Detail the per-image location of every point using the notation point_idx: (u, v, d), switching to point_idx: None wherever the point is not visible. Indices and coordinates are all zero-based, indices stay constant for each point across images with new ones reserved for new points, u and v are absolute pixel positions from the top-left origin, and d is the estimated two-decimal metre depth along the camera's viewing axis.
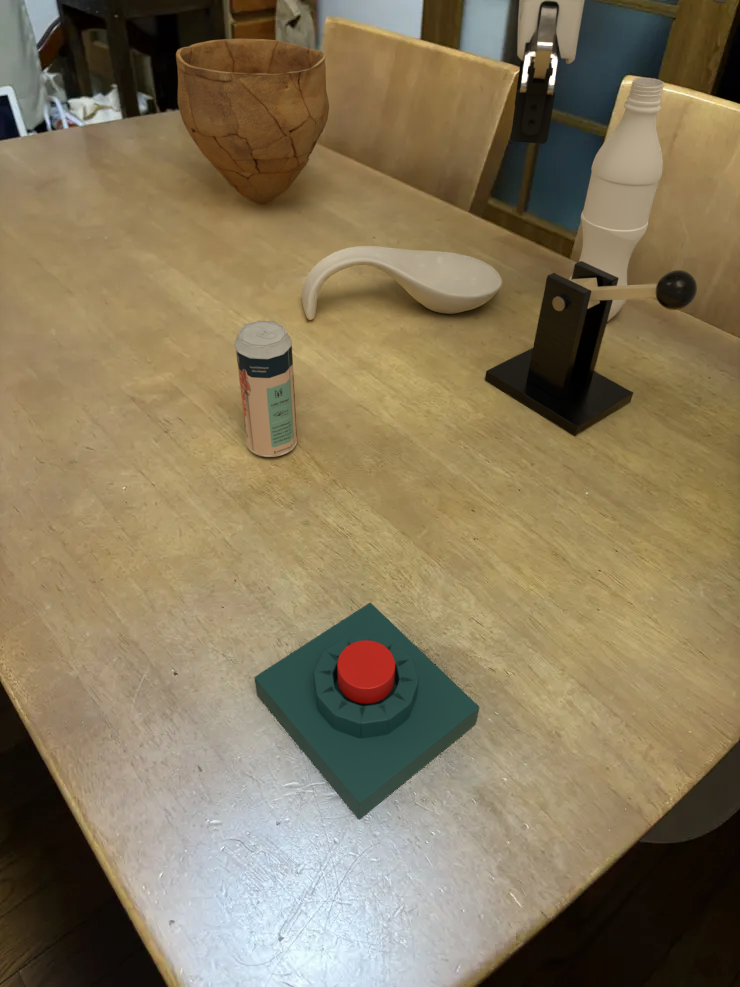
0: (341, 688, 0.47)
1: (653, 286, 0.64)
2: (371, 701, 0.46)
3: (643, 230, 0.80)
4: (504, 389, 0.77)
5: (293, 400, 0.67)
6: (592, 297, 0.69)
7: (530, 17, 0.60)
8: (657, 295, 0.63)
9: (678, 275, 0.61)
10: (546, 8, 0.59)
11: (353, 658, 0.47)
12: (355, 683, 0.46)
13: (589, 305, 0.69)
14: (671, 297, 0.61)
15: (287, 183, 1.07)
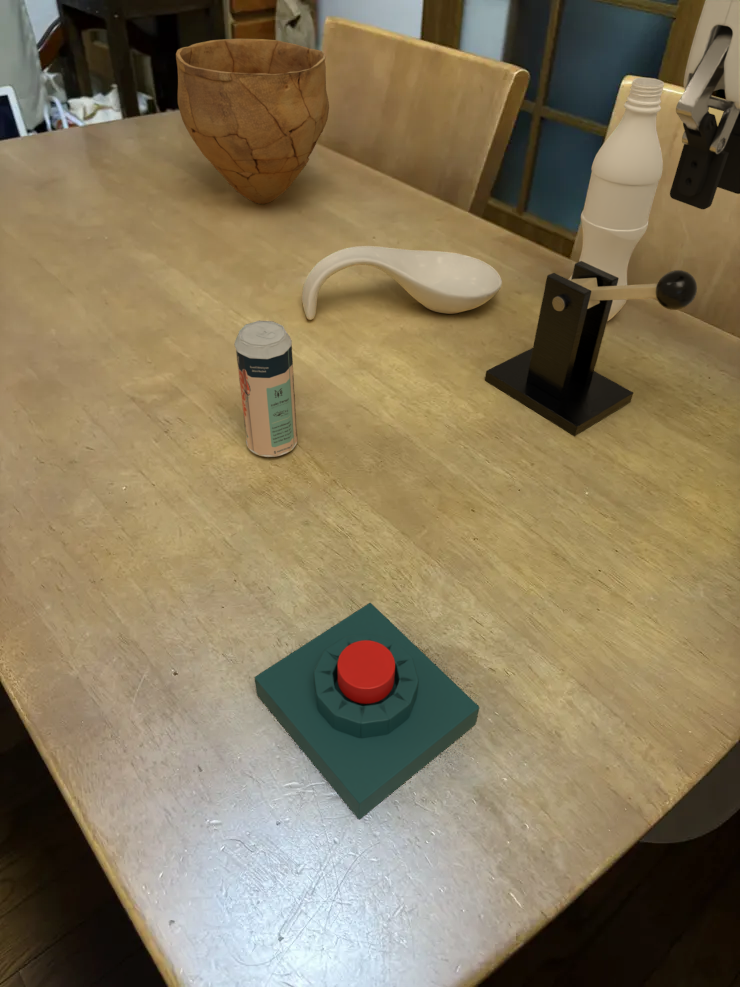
0: (341, 688, 0.47)
1: (653, 286, 0.64)
2: (371, 701, 0.46)
3: (643, 230, 0.80)
4: (504, 389, 0.77)
5: (293, 400, 0.67)
6: (592, 297, 0.69)
7: (699, 42, 0.48)
8: (657, 295, 0.63)
9: (678, 275, 0.61)
10: (714, 48, 0.48)
11: (353, 658, 0.47)
12: (355, 683, 0.46)
13: (589, 305, 0.69)
14: (671, 297, 0.61)
15: (287, 183, 1.07)
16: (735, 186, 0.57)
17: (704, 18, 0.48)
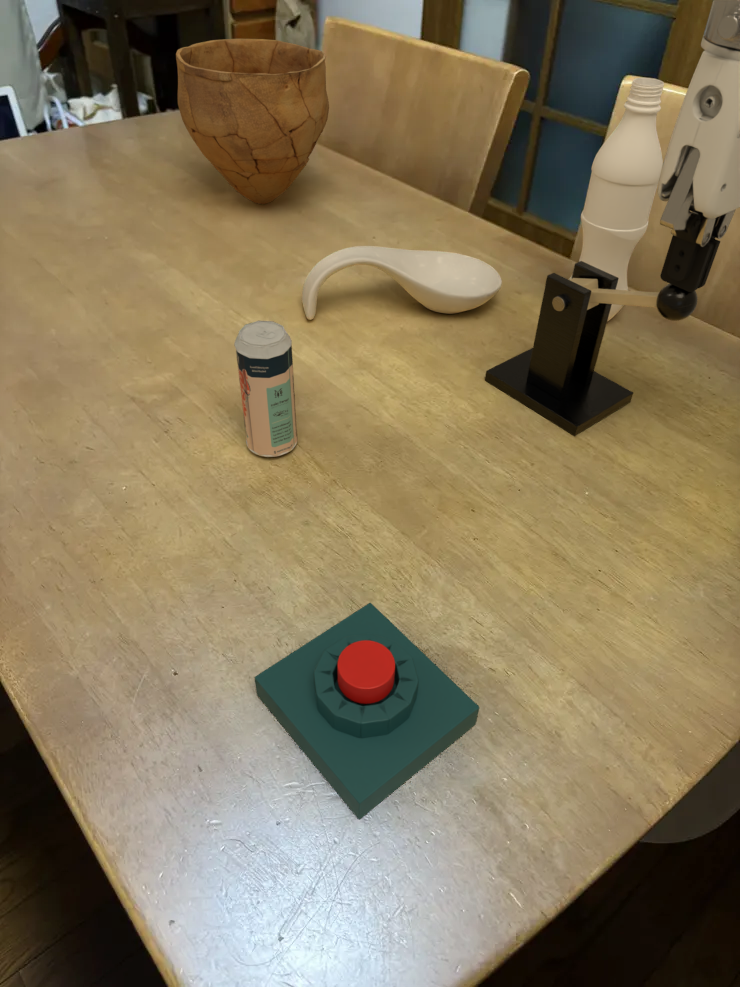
0: (341, 688, 0.47)
1: (654, 295, 0.64)
2: (371, 701, 0.46)
3: (643, 230, 0.80)
4: (504, 389, 0.77)
5: (293, 400, 0.67)
6: (592, 299, 0.69)
7: (670, 158, 0.53)
8: (658, 305, 0.63)
9: None
10: (686, 169, 0.53)
11: (353, 658, 0.47)
12: (355, 683, 0.46)
13: (588, 306, 0.70)
14: (671, 309, 0.62)
15: (287, 183, 1.07)
16: None
17: (675, 138, 0.52)
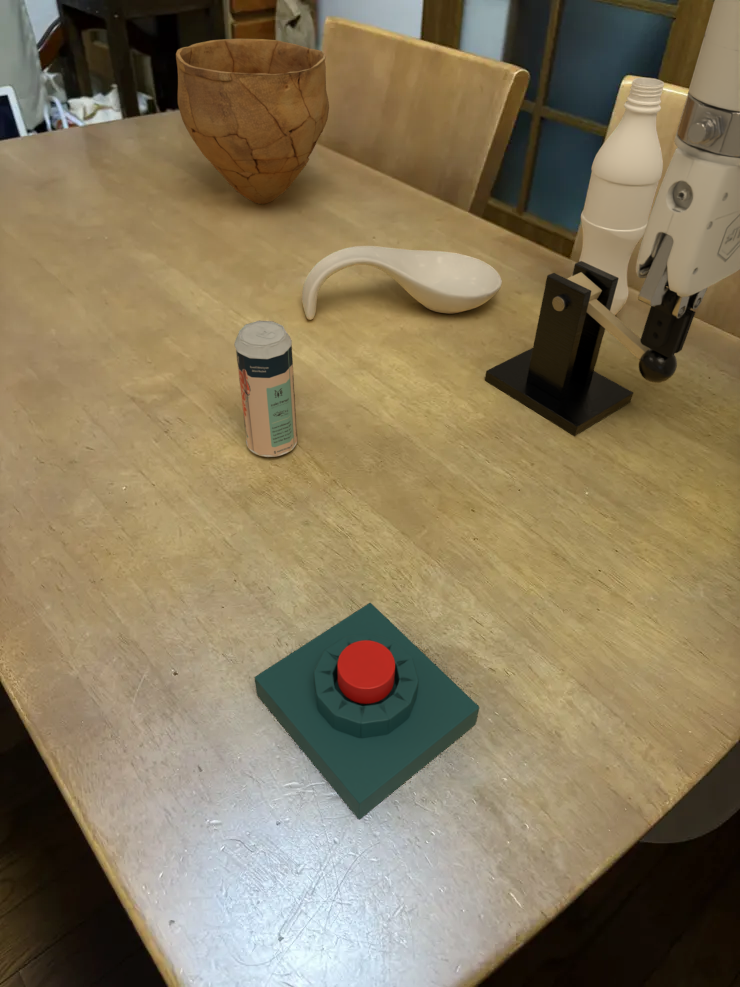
0: (341, 688, 0.47)
1: (643, 348, 0.67)
2: (371, 701, 0.46)
3: (643, 230, 0.80)
4: (504, 389, 0.77)
5: (293, 400, 0.67)
6: (588, 310, 0.70)
7: (647, 242, 0.57)
8: (641, 363, 0.67)
9: (667, 361, 0.65)
10: (661, 252, 0.57)
11: (353, 658, 0.47)
12: (355, 683, 0.46)
13: None
14: (651, 375, 0.66)
15: (287, 183, 1.07)
16: None
17: (651, 224, 0.56)
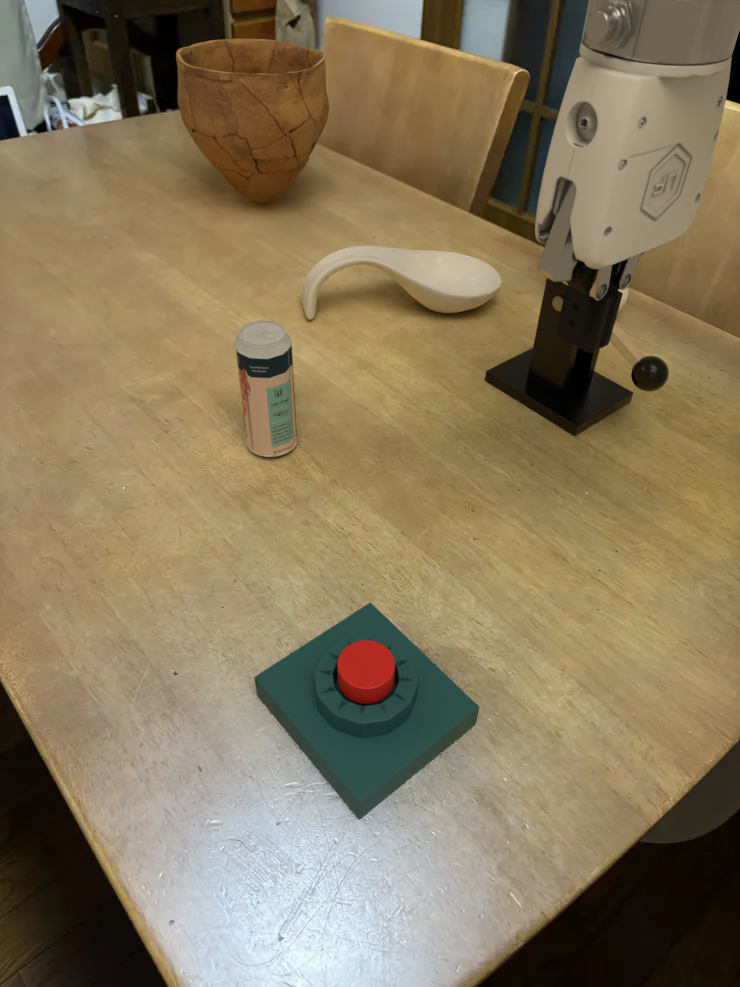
0: (341, 688, 0.47)
1: (637, 356, 0.68)
2: (371, 701, 0.46)
3: None
4: (504, 389, 0.77)
5: (293, 400, 0.67)
6: None
7: (544, 193, 0.42)
8: (634, 371, 0.68)
9: (660, 372, 0.66)
10: (564, 207, 0.42)
11: (353, 658, 0.47)
12: (355, 683, 0.46)
13: None
14: (642, 384, 0.67)
15: (287, 183, 1.07)
16: None
17: (548, 167, 0.41)
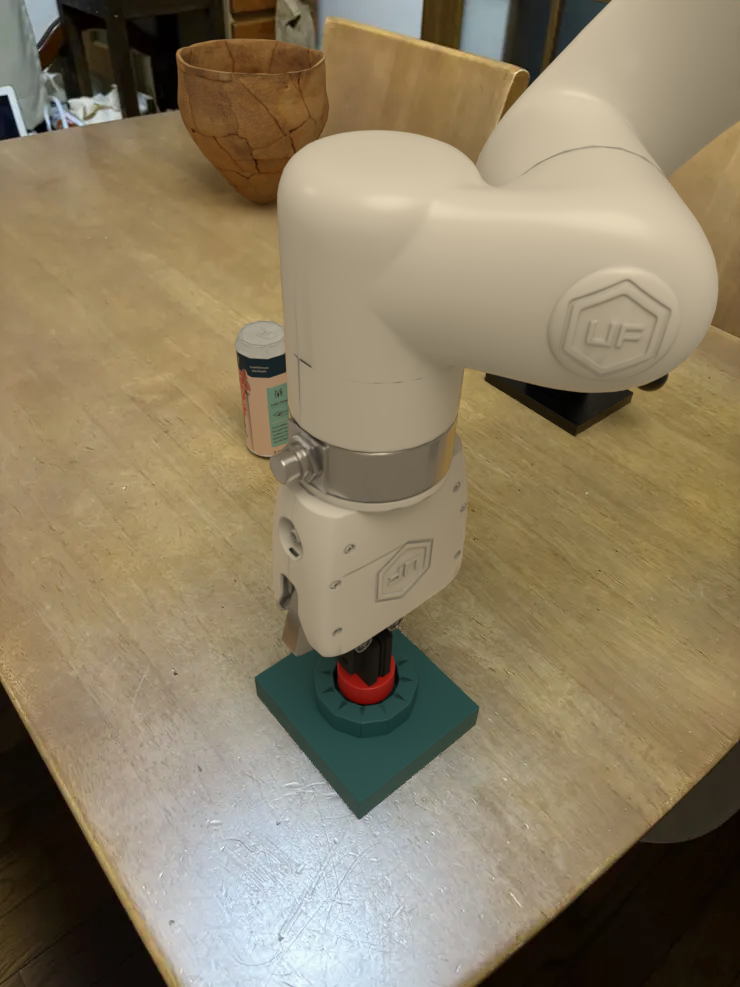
0: (341, 689, 0.47)
1: None
2: (371, 702, 0.46)
3: None
4: (504, 389, 0.77)
5: None
6: None
7: (274, 578, 0.38)
8: None
9: None
10: (296, 593, 0.38)
11: None
12: (355, 684, 0.46)
13: None
14: None
15: None
16: None
17: (273, 557, 0.37)
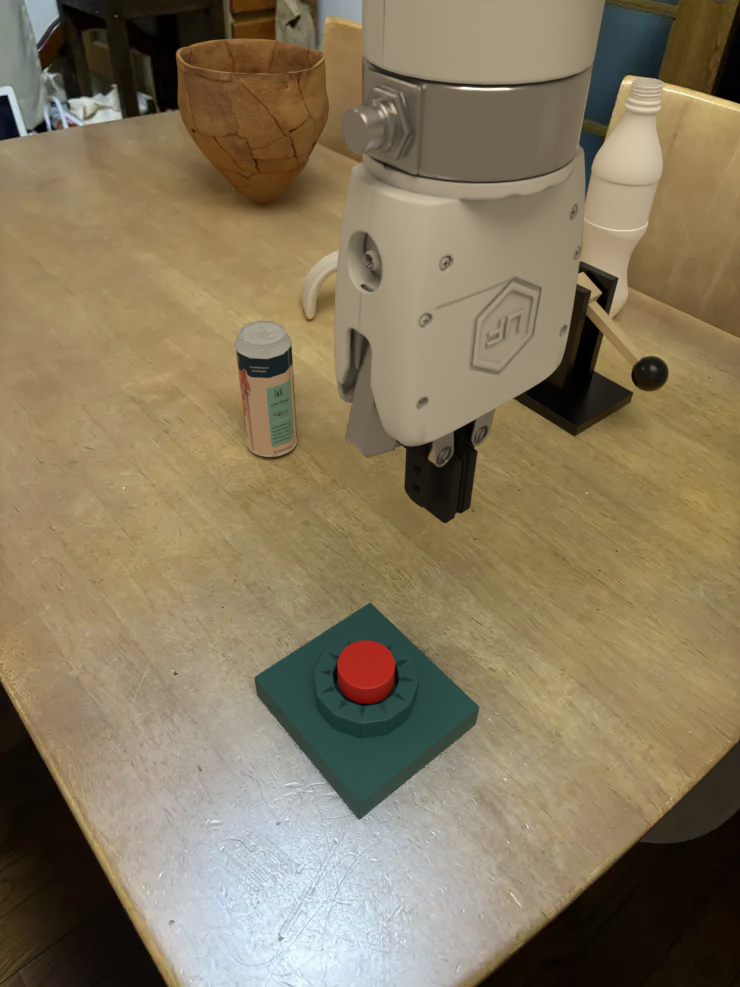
0: (341, 688, 0.47)
1: (637, 356, 0.68)
2: (371, 701, 0.46)
3: (643, 230, 0.80)
4: None
5: (293, 400, 0.67)
6: (587, 312, 0.70)
7: (338, 344, 0.30)
8: (634, 371, 0.68)
9: (660, 372, 0.66)
10: (366, 363, 0.29)
11: (353, 658, 0.47)
12: (355, 683, 0.46)
13: None
14: (642, 384, 0.67)
15: (287, 183, 1.07)
16: None
17: (337, 312, 0.29)
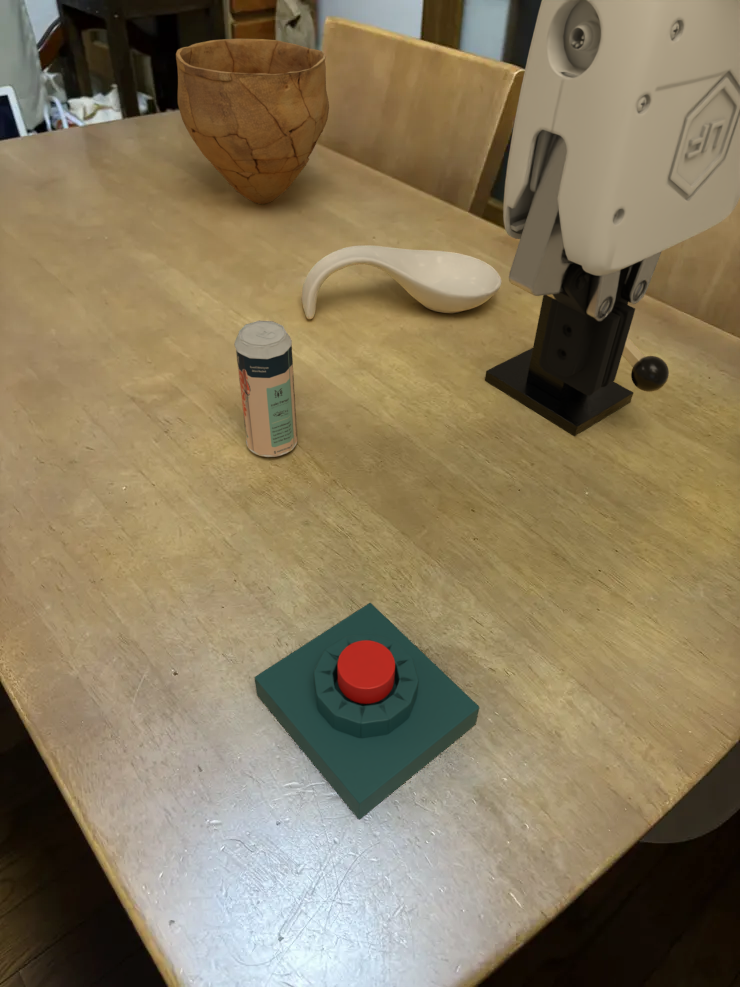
0: (341, 688, 0.47)
1: (637, 356, 0.68)
2: (371, 701, 0.46)
3: None
4: (504, 389, 0.77)
5: (293, 400, 0.67)
6: None
7: (516, 157, 0.26)
8: (634, 371, 0.68)
9: (660, 372, 0.66)
10: (548, 178, 0.26)
11: (353, 658, 0.47)
12: (355, 683, 0.46)
13: None
14: (642, 384, 0.67)
15: (287, 183, 1.07)
16: None
17: (521, 115, 0.26)
